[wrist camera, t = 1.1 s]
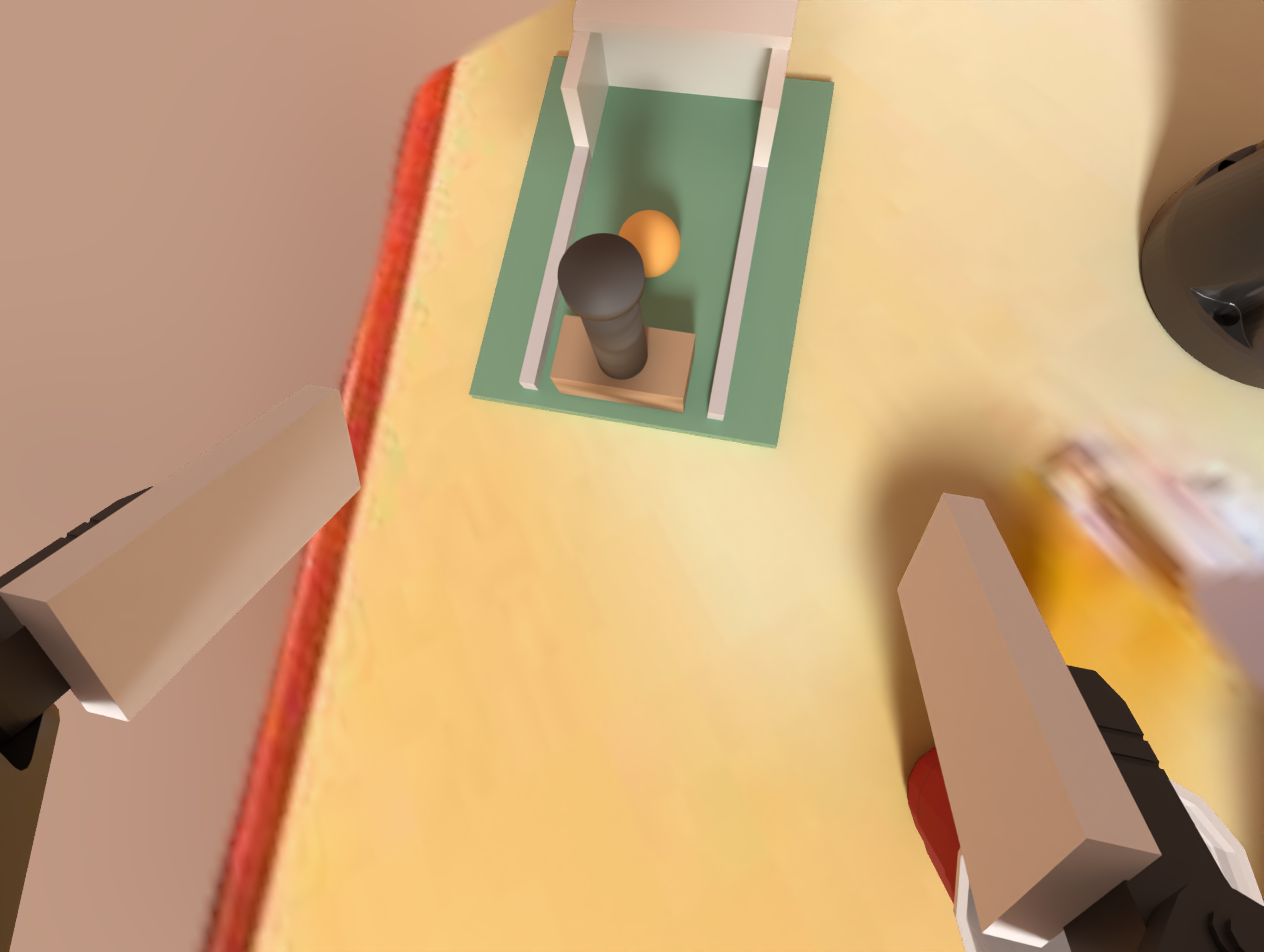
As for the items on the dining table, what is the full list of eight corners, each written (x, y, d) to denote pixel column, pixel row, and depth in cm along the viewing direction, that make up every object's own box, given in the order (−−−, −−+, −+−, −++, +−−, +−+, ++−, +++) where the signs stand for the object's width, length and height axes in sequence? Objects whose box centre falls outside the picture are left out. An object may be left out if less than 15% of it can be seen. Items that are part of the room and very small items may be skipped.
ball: (685, 238, 40) (685, 199, 36) (675, 293, 39) (673, 260, 35) (627, 230, 40) (620, 192, 36) (615, 284, 39) (607, 251, 35)
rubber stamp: (694, 353, 38) (699, 242, 26) (683, 413, 37) (683, 328, 25) (573, 335, 39) (522, 220, 27) (560, 393, 38) (502, 302, 26)
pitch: (831, 91, 42) (839, 67, 40) (774, 448, 37) (780, 440, 35) (556, 65, 44) (550, 41, 42) (473, 397, 40) (462, 388, 38)
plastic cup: (925, 946, 32) (1068, 1158, 20) (825, 748, 34) (901, 834, 22) (1108, 857, 32) (1358, 1016, 20) (996, 665, 34) (1163, 707, 22)
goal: (780, 90, 41) (799, -7, 34) (765, 179, 40) (781, 97, 33) (598, 72, 43) (582, -24, 36) (577, 158, 41) (557, 75, 35)
